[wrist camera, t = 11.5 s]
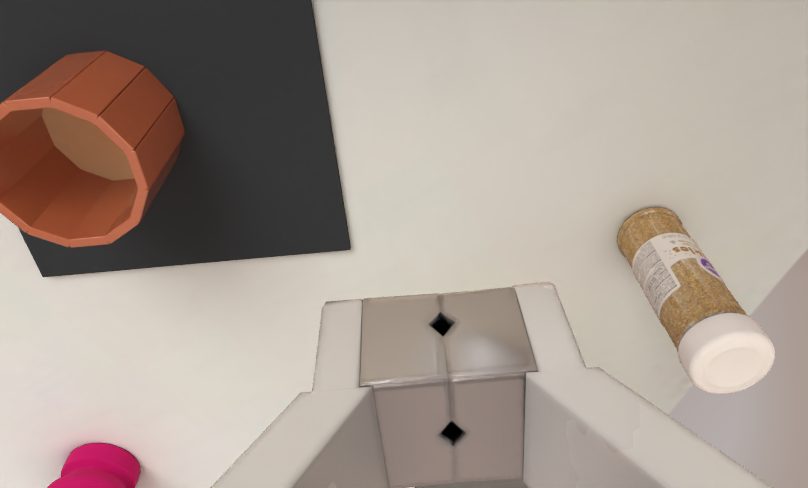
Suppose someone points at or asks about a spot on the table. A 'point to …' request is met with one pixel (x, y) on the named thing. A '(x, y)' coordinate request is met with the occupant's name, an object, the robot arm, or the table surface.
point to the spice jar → (694, 304)
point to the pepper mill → (98, 468)
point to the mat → (204, 125)
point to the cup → (86, 149)
